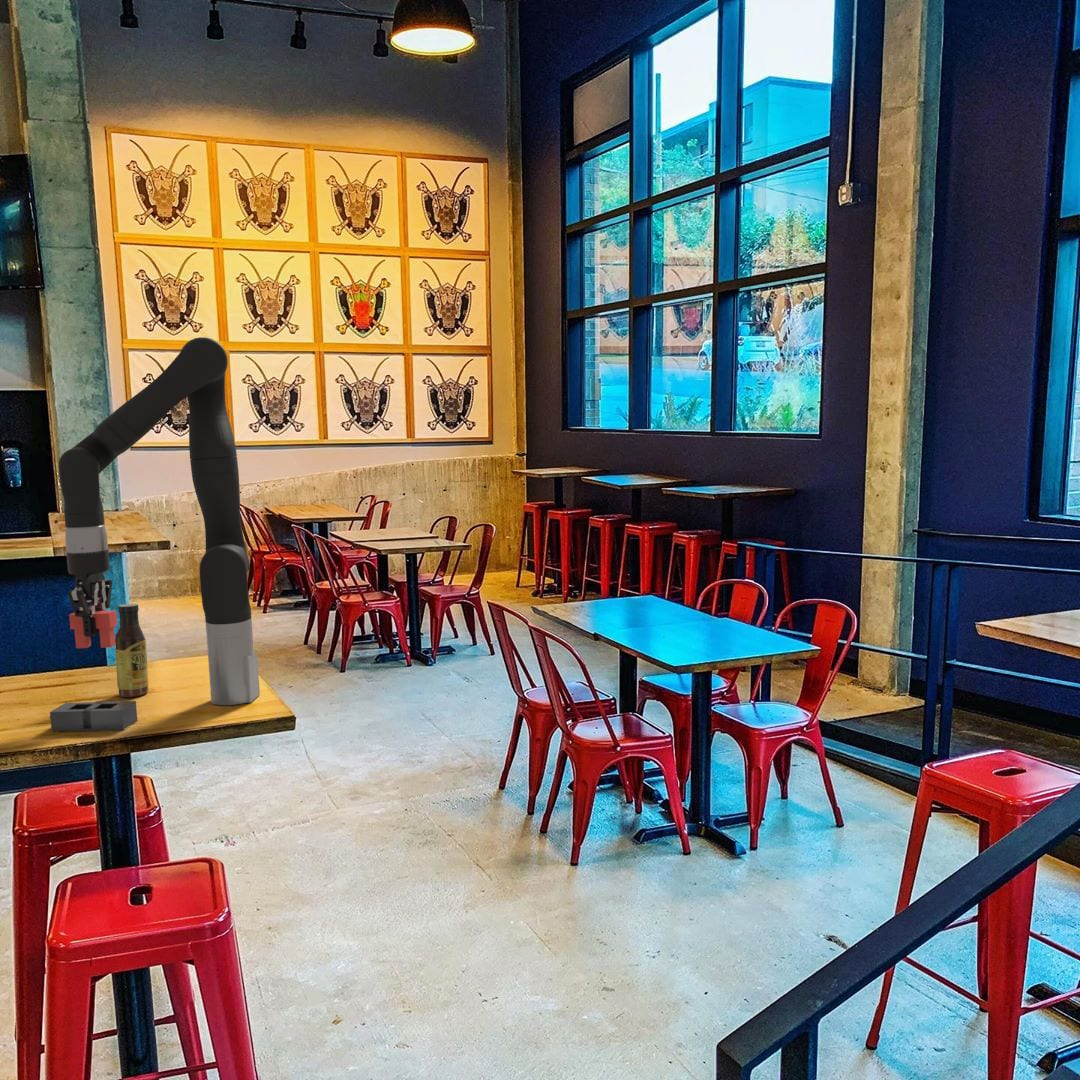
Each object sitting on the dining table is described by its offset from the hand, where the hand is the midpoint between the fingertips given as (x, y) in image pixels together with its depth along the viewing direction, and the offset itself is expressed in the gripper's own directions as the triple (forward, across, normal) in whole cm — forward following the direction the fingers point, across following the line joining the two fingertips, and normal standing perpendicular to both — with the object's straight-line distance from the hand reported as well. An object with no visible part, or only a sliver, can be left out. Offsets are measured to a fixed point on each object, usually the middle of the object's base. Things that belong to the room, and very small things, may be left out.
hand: (95, 633), depth 189 cm
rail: (+17, -6, -2) cm, 18 cm away
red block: (+3, 0, 0) cm, 3 cm away
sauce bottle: (+17, +16, +1) cm, 23 cm away
